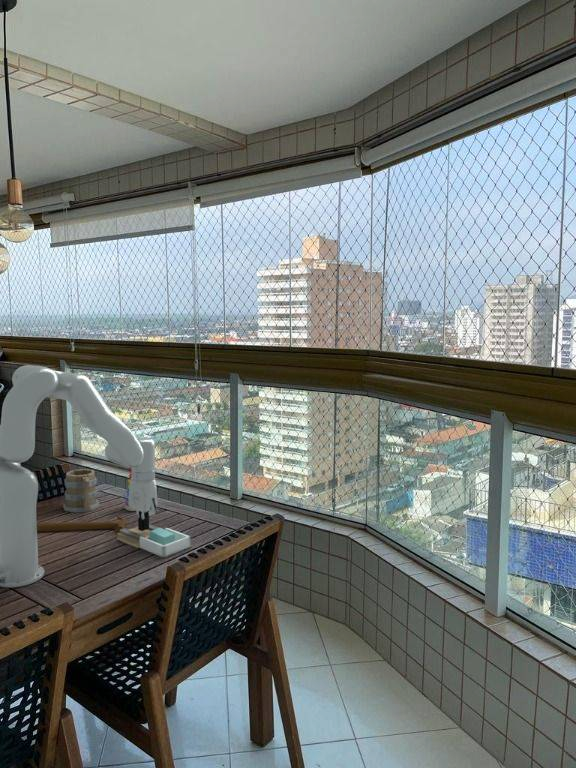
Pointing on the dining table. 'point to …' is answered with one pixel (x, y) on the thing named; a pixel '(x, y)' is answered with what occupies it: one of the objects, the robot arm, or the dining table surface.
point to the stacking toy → (128, 494)
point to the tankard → (80, 491)
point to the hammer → (83, 525)
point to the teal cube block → (154, 534)
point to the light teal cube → (165, 538)
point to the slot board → (134, 535)
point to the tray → (168, 549)
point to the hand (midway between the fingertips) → (143, 529)
